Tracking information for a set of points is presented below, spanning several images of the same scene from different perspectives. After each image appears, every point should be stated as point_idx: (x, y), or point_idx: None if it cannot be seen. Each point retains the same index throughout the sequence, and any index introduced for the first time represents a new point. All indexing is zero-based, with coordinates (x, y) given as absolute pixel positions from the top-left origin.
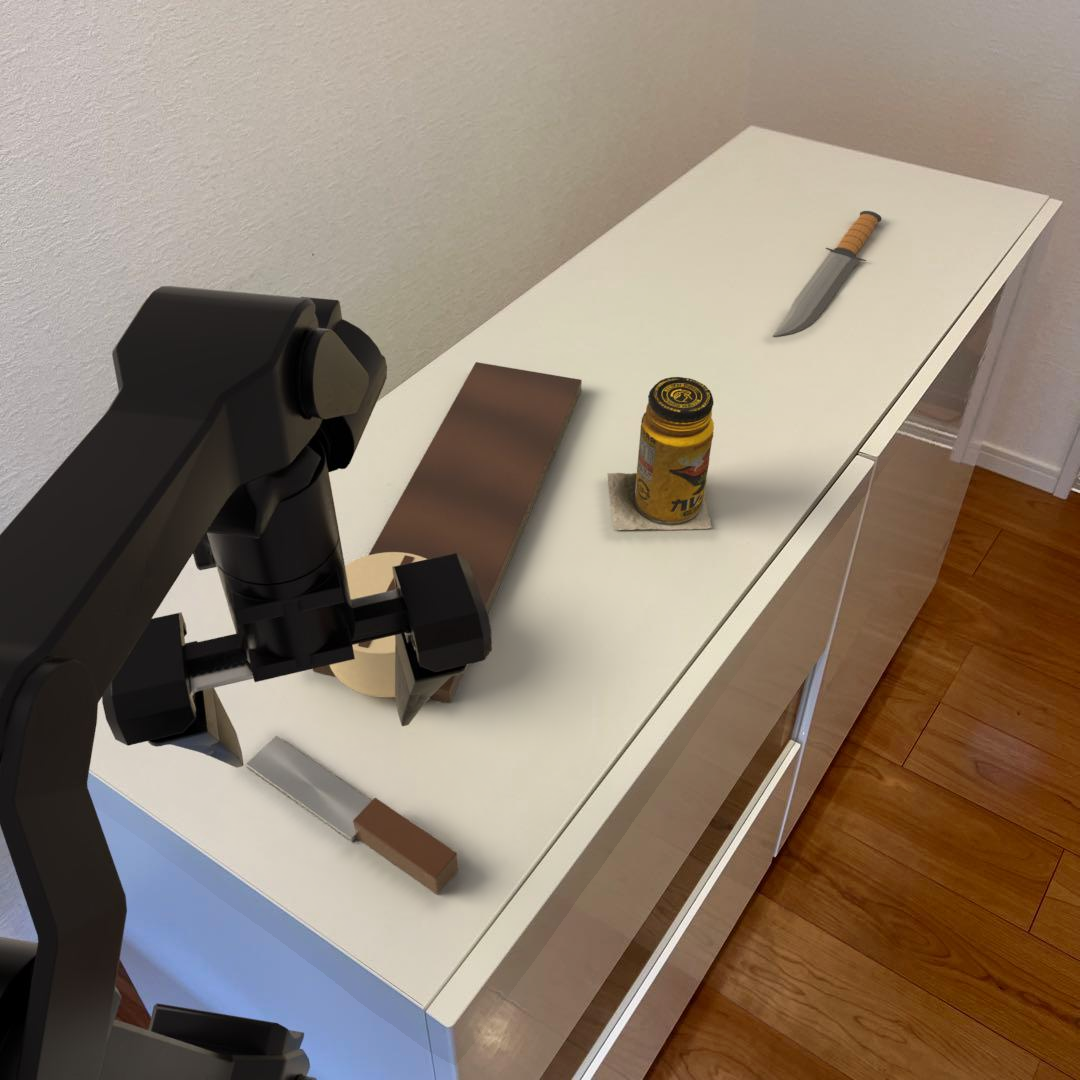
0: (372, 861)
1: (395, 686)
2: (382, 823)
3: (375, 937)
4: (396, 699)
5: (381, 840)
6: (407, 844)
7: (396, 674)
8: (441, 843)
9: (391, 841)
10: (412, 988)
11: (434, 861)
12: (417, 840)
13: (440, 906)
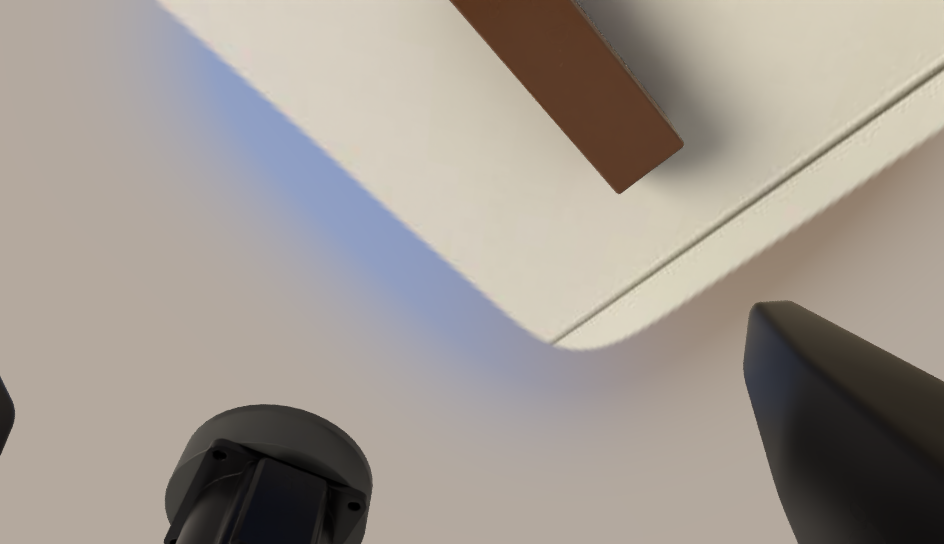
0: (481, 53)
1: (840, 412)
2: (523, 23)
3: (468, 221)
4: (795, 396)
5: (513, 73)
6: (575, 98)
7: (917, 506)
8: (656, 112)
9: (538, 83)
10: (522, 319)
11: (628, 157)
12: (601, 93)
13: (607, 188)
